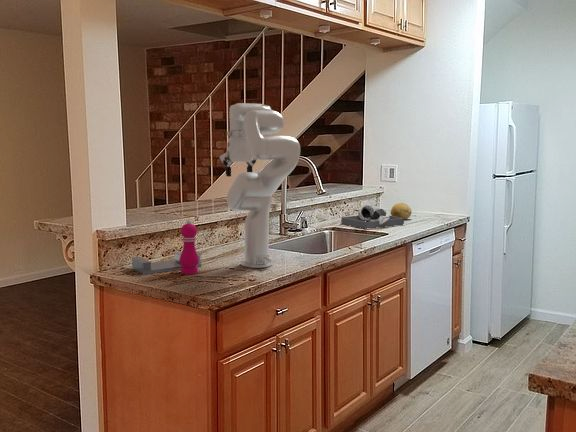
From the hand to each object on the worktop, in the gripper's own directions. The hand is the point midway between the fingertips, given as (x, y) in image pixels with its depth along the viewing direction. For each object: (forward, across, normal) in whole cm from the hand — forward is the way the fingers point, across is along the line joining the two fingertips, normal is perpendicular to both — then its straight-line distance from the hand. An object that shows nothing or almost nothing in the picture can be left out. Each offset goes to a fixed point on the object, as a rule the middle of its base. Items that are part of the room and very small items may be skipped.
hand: (239, 176), depth 248 cm
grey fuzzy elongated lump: (+32, +104, +39) cm, 116 cm away
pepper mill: (+35, -30, -17) cm, 49 cm away
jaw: (+33, -26, -6) cm, 42 cm away
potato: (+33, +133, +47) cm, 145 cm away
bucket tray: (+33, +104, +39) cm, 116 cm away
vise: (+34, -35, -6) cm, 49 cm away
